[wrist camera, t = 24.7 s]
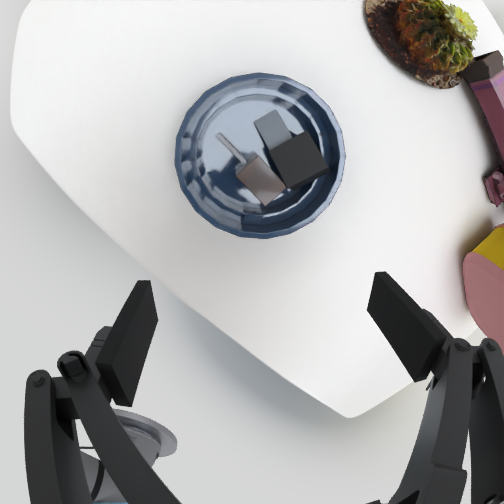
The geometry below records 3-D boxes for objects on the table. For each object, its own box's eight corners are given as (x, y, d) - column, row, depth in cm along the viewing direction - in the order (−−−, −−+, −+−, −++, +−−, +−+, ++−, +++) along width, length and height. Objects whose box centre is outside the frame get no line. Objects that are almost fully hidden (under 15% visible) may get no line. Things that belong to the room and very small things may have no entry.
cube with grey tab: (293, 191, 27) (331, 171, 26) (287, 188, 25) (328, 167, 23) (258, 126, 27) (292, 107, 26) (249, 118, 25) (286, 96, 23)
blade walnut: (280, 179, 29) (287, 187, 25) (261, 197, 30) (265, 207, 26) (228, 125, 26) (227, 123, 22) (208, 143, 27) (204, 145, 23)
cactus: (461, 20, 20) (503, 10, 11) (462, 107, 26) (512, 111, 17) (363, -32, 18) (396, -64, 9) (359, 60, 24) (404, 39, 15)
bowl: (232, 244, 32) (232, 266, 27) (159, 131, 27) (144, 131, 21) (347, 181, 30) (368, 191, 25) (284, 62, 24) (294, 47, 19)
